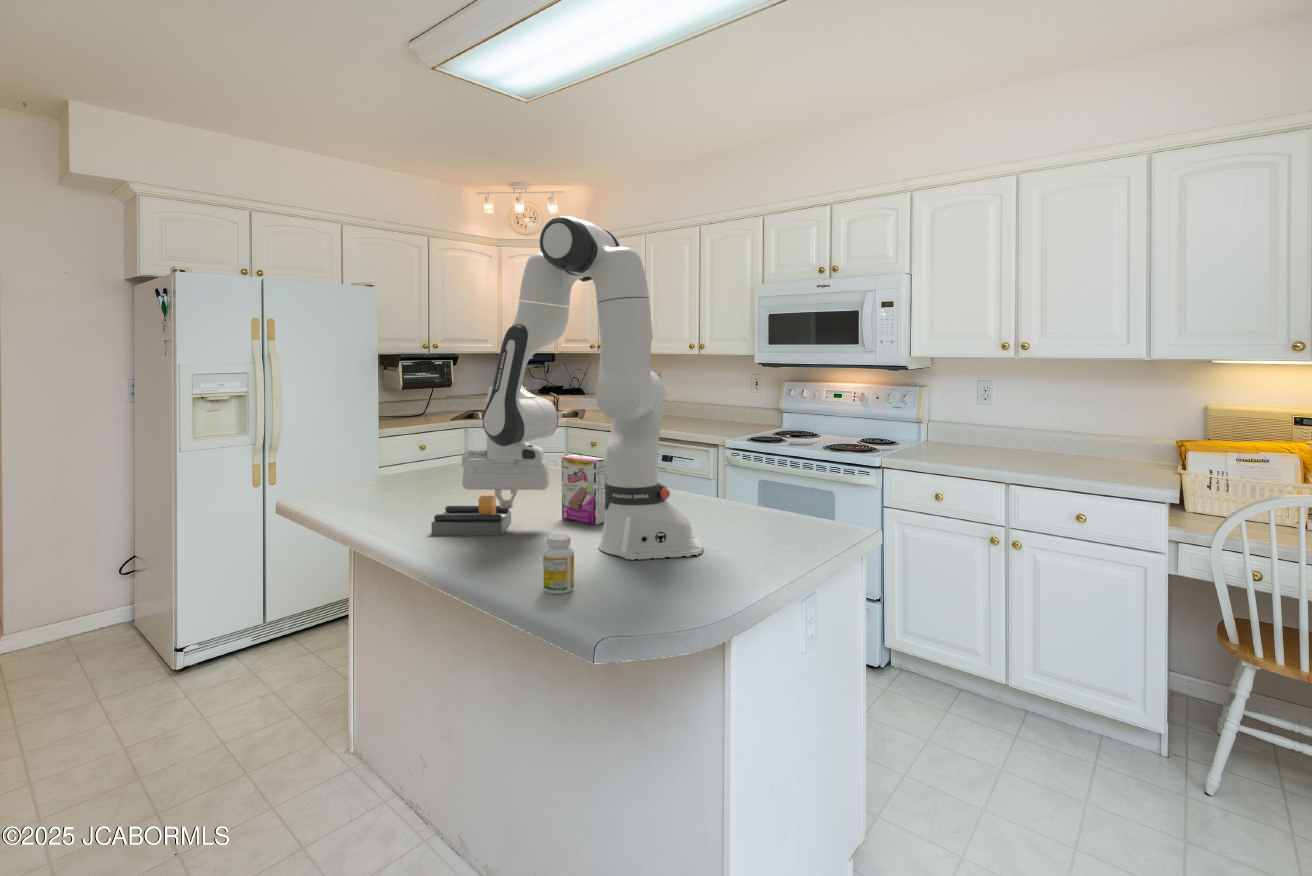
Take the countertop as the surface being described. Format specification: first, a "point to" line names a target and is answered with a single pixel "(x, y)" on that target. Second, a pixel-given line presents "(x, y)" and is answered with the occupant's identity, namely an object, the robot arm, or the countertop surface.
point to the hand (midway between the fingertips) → (506, 507)
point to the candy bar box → (583, 489)
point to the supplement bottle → (558, 565)
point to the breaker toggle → (487, 504)
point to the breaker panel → (470, 522)
